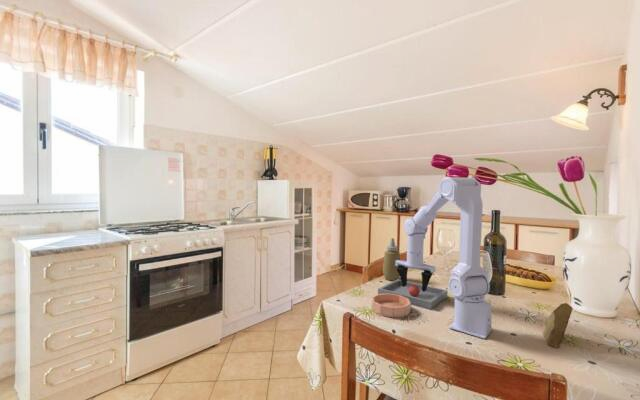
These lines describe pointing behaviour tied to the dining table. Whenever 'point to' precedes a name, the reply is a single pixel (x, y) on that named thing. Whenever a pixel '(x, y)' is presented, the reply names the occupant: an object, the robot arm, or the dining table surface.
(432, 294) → the tray
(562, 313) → the rock
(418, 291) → the ball
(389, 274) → the squeeze bottle
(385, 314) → the pink bowl
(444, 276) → the dining table surface
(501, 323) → the dining table surface
